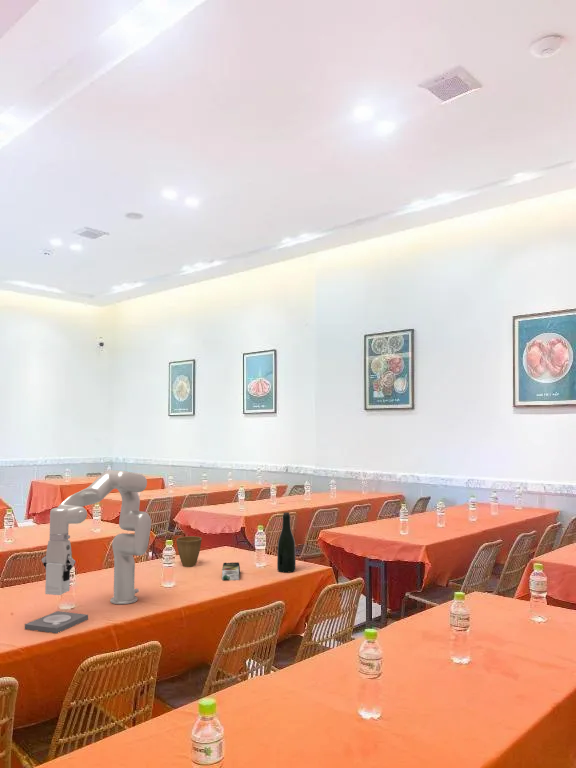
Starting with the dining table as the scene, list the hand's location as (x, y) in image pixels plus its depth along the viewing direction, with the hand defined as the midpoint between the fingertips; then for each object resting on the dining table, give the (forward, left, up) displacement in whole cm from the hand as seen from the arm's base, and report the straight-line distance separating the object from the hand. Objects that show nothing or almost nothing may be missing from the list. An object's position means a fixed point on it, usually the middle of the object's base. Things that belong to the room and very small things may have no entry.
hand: (57, 579), depth 274 cm
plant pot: (-119, -2, -19) cm, 121 cm away
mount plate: (0, 0, -19) cm, 19 cm away
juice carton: (-103, +33, -19) cm, 110 cm away
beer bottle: (-126, +57, -19) cm, 140 cm away
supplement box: (0, 0, -6) cm, 6 cm away
